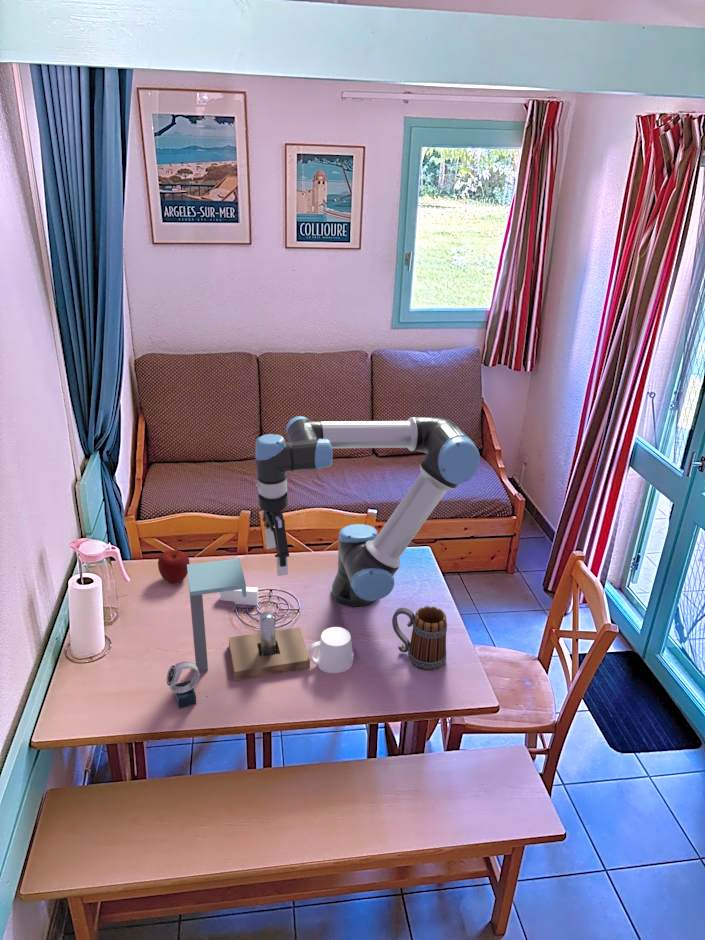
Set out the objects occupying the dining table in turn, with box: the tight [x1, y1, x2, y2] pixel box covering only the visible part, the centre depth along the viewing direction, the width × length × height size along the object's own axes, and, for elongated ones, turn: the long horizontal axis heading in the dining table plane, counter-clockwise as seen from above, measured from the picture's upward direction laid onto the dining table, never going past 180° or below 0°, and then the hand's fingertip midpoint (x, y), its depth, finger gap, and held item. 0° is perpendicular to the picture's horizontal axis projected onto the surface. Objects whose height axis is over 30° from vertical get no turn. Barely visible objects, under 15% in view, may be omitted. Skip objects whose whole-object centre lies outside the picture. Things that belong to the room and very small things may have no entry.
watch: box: [166, 661, 201, 709], centre depth 181 cm, size 6×8×11 cm
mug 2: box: [391, 605, 448, 672], centre depth 197 cm, size 16×11×15 cm
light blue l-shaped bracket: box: [187, 558, 247, 673], centre depth 189 cm, size 14×12×29 cm
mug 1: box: [308, 626, 354, 674], centre depth 195 cm, size 12×9×8 cm
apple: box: [157, 549, 190, 585], centre depth 227 cm, size 10×10×10 cm
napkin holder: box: [219, 586, 260, 606], centre depth 220 cm, size 15×11×6 cm
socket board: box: [228, 627, 311, 682], centre depth 198 cm, size 20×14×3 cm
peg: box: [259, 610, 277, 657], centre depth 196 cm, size 4×4×14 cm
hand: (276, 560), depth 198 cm, fingers open, 13 cm apart
